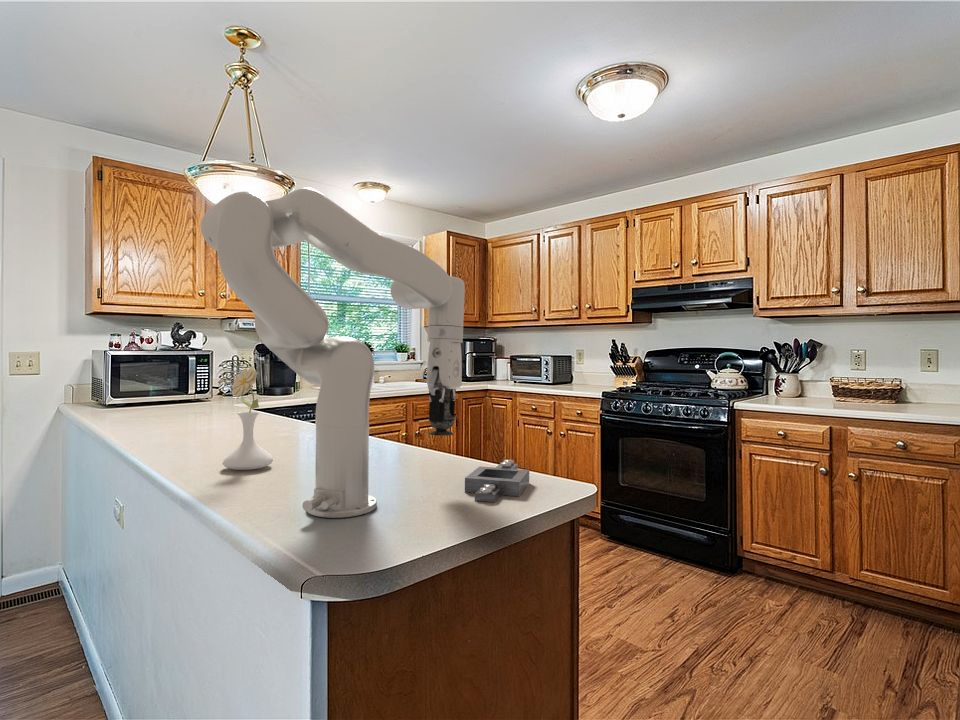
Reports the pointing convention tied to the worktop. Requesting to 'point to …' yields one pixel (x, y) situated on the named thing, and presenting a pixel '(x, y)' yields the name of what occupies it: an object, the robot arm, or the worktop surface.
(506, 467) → the frame
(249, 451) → the flower in vase
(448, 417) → the salt shaker
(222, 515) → the worktop surface
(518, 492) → the chain end near
